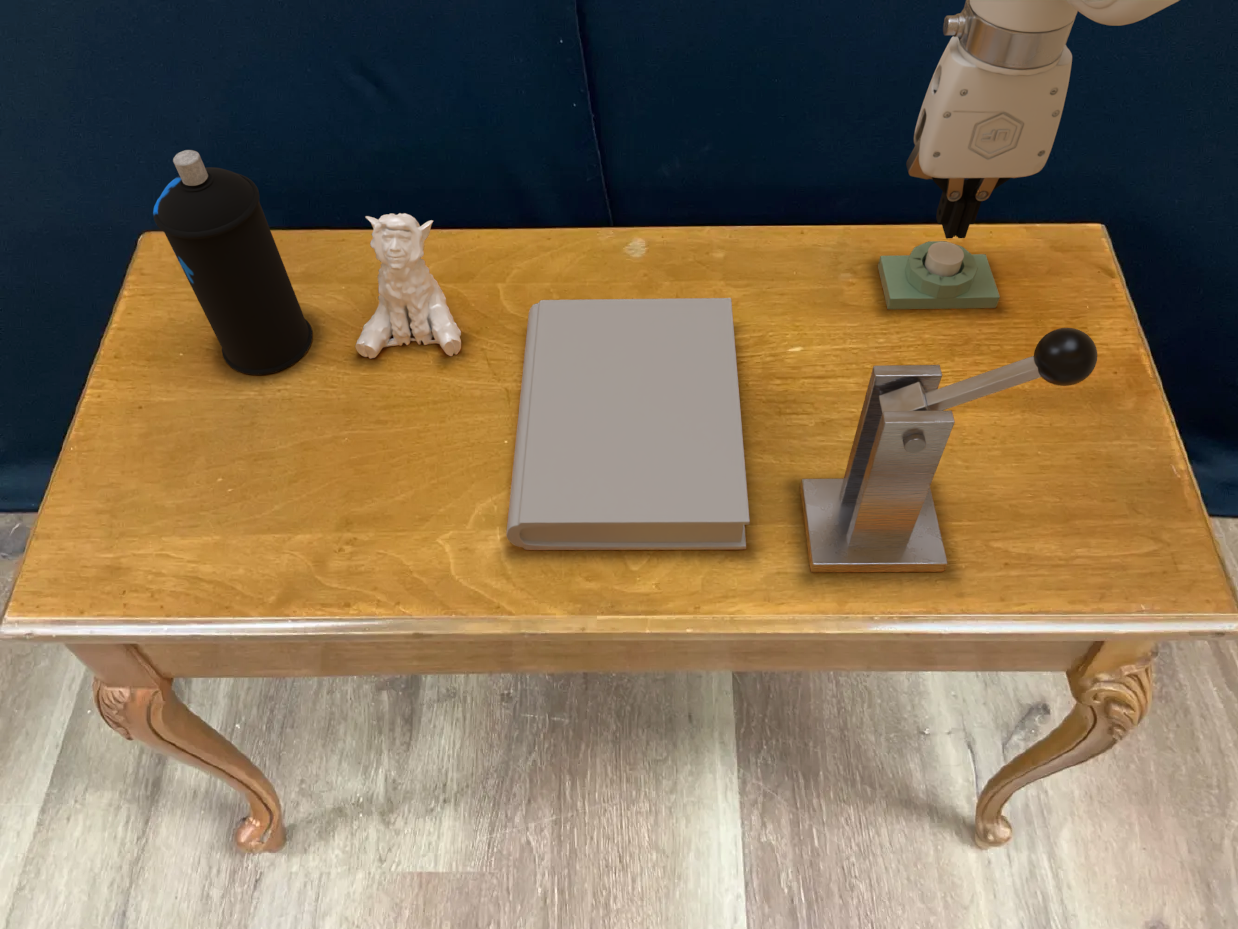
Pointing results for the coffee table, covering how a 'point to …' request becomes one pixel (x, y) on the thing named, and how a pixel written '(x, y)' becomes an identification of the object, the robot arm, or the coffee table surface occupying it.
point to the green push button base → (936, 282)
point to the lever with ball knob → (1007, 374)
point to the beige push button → (944, 259)
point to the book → (629, 428)
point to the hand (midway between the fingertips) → (952, 227)
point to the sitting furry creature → (406, 291)
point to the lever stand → (882, 487)
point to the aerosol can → (233, 266)
